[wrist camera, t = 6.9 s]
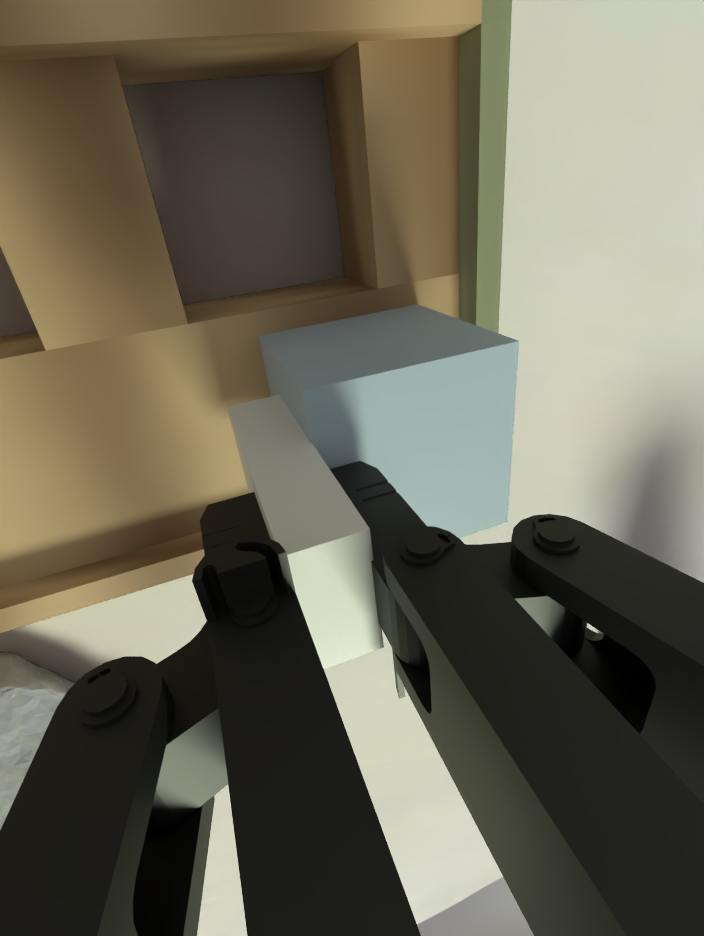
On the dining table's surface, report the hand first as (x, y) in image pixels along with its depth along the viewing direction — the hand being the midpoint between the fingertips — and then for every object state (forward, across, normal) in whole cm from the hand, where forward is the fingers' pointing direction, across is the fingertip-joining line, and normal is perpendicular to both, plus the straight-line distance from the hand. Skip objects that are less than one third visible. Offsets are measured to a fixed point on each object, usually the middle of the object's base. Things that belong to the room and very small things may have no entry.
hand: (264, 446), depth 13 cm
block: (+2, +3, 0) cm, 4 cm away
